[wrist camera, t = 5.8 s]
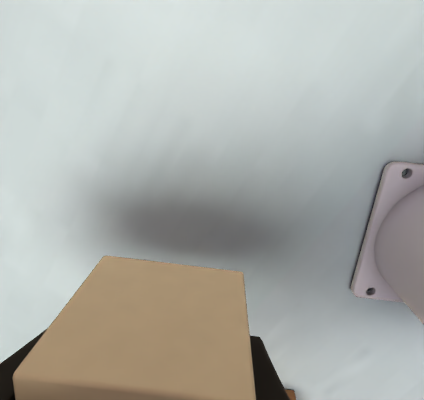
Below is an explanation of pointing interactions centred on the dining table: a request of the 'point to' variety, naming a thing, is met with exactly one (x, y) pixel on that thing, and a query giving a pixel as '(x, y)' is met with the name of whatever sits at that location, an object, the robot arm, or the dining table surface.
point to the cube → (145, 337)
